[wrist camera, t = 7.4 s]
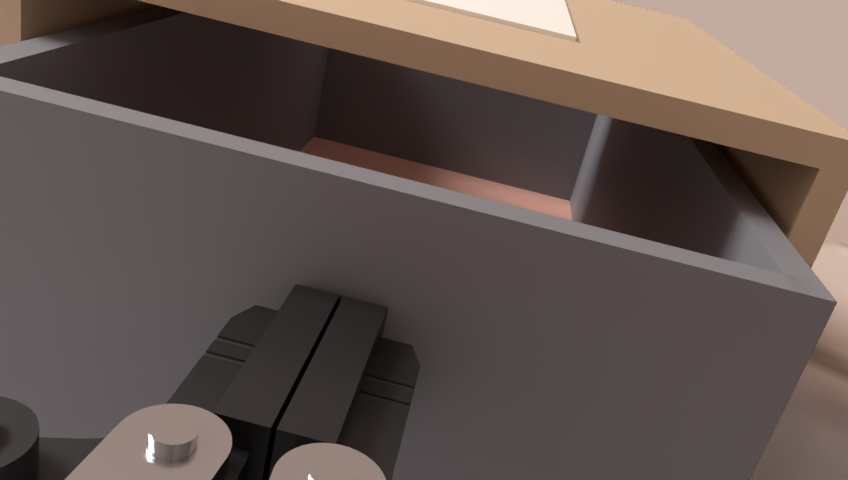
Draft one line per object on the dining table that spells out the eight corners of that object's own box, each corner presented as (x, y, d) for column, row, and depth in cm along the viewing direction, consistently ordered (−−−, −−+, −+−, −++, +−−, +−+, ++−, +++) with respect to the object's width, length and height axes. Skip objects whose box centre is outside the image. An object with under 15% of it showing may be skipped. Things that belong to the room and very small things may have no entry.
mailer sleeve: (656, 596, 18) (871, 139, 13) (-5, 417, 18) (-11, -77, 14) (599, 269, 34) (687, 16, 30) (251, 181, 35) (285, -81, 30)
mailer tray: (644, 689, 14) (837, 302, 11) (-66, 494, 15) (-89, 68, 12) (578, 209, 38) (632, 39, 35) (304, 140, 39) (331, -35, 35)
